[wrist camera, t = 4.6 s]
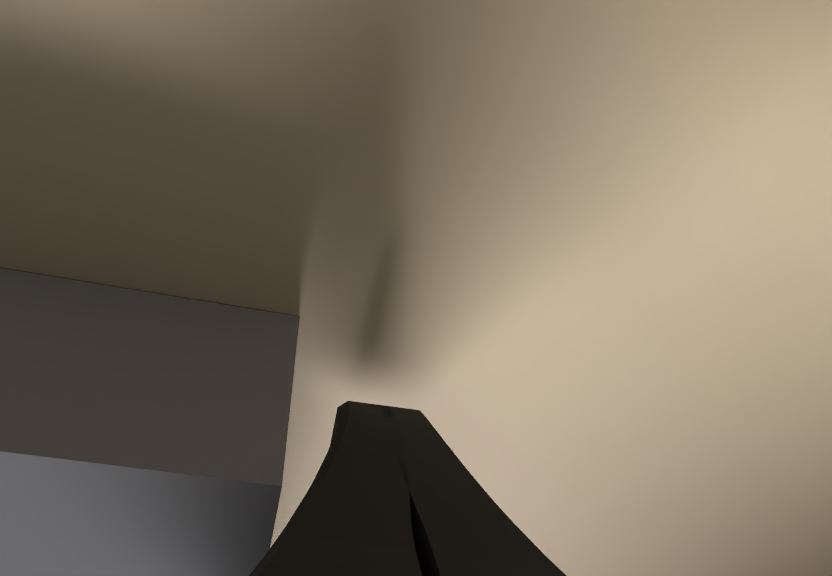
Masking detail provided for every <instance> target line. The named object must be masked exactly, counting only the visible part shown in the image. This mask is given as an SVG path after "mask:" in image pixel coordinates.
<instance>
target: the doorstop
mask: <svg viewBox="0 0 832 576" xmlns="http://www.w3.org/2000/svg"><path fill="white" fill-rule="evenodd" d="M298 326H299V317H298V316H292V315H286V314H280V313H274V312H267V311H261V310H255V309H249V308H243V307H237V306H231V305H224V304H218V303H212V302H206V301H200V300H194V299H188V298H181V297H175V296H169V295H163V294H157V293H151V292H145V291H139V290H132V289H126V288H120V287H114V286H108V285H102V284H96V283H89V282H83V281H77V280H71V279H65V278H59V277H53V276H46V275H40V274H34V273H28V272H22V271H16V270H10V269H3V268H0V576H249V575H250V574H251V572H252V571H253V570H254V569H255V567H256V566H257V565H258V564H259V562H260V561H261V560H262V559H263V557H264V556H265V555H266V553H267V552H268V551H269V549H270V544H271V539H272V534H273V529H274V524H275V518H276V513H277V508H278V503H279V498H280V492H281V487H282V479H283V469H284V460H285V450H286V441H287V431H288V421H289V412H290V402H291V393H292V383H293V374H294V364H295V355H296V345H297V336H298Z"/></svg>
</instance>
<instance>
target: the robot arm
mask: <svg viewBox="0 0 832 576" xmlns="http://www.w3.org/2000/svg"><path fill="white" fill-rule="evenodd" d="M249 576H566V575H565V574H564V573H563V572H562V571H561V570H560V569H559V568H558V567H557V566H555V565H554V564H553V563H552V562H551V561H550V560H549V559H548V558H547V557H546V556H545V555H544V554H543V553H542V552H541V551H540V550H539V549H538V548H537V547H536V546H535V545H534V544H533V543H532V542H531V541H530V540H529V539H528V537H527V536H526V535H525V534H524V533H523V532H522V531H521V530H520V529H519V528H518V527H517V526H516V525H515V524H514V523H513V522H512V521H511V520H510V519H509V518H508V516H507V515H506V514H505V513H504V512H503V511H502V510H501V509H500V508H499V507H498V505H497V504H496V503H495V502H494V501H493V500H492V499H491V497H490V496H489V495H488V494H487V493H486V492H485V491H484V489H483V488H482V487H481V486H480V485H479V483H478V482H477V481H476V480H475V479H474V477H473V476H472V475H471V474H470V473H469V471H468V470H467V469H466V468H465V466H464V465H463V464H462V463H461V462H460V460H459V459H458V458H457V456H456V455H455V454H454V453H453V451H452V450H451V449H450V448H449V446H448V445H447V444H446V443H445V441H444V440H443V439H442V437H441V436H440V435H439V434H438V432H437V431H436V430H435V428H434V427H433V426H432V425H431V423H430V422H429V421H428V420H427V418H426V417H425V416H424V415H423V414H422V412H421V411H420V410H413V409H405V408H398V407H390V406H382V405H375V404H367V403H360V402H352V401H347V402H346V403H344V404H342V405H341V406H339V407H338V408H337V414H336V419H335V424H334V429H333V434H332V439H331V444H330V448H329V450H328V453H327V455H326V457H325V459H324V461H323V463H322V465H321V467H320V469H319V471H318V473H317V475H316V477H315V479H314V481H313V483H312V485H311V487H310V488H309V490H308V492H307V494H306V495H305V497H304V498H303V500H302V501H301V503H300V505H299V506H298V508H297V509H296V511H295V513H294V514H293V516H292V517H291V519H290V521H289V522H288V524H287V525H286V527H285V528H284V530H283V531H282V533H281V534H280V535H279V537H278V538H277V540H276V541H275V543H274V544H273V545H272V547H271V548H270V549H269V551H268V552H267V553H266V555H265V556H264V557H263V559H262V560H261V561H260V562H259V564H258V565H257V566H256V567H255V569H254V570H253V571H252V572H251V574H250V575H249Z"/></svg>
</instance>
